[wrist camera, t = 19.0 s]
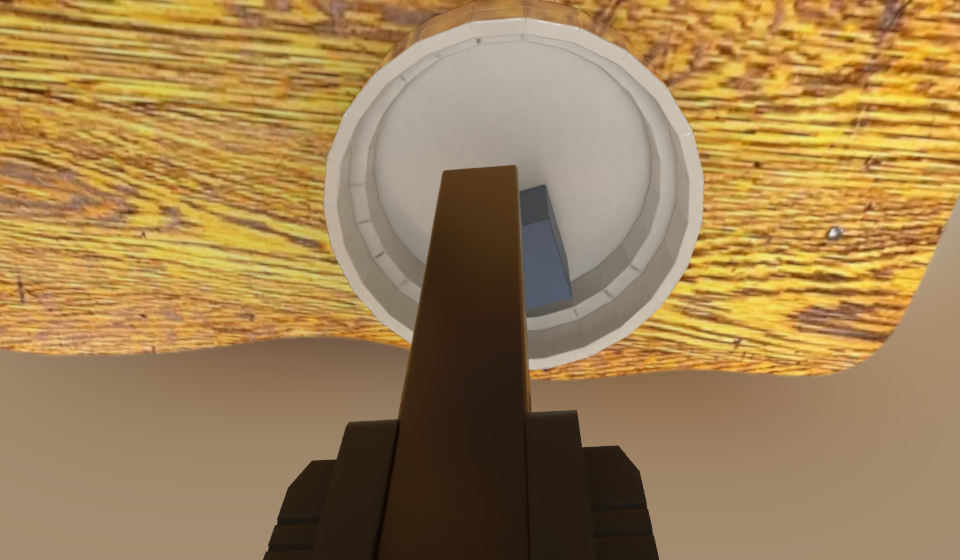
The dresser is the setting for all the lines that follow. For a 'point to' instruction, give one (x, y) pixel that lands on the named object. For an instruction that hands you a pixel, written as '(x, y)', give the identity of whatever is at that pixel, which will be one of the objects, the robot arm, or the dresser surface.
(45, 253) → the dresser surface
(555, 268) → the block
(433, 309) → the stick
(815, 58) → the dresser surface
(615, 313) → the bowl
